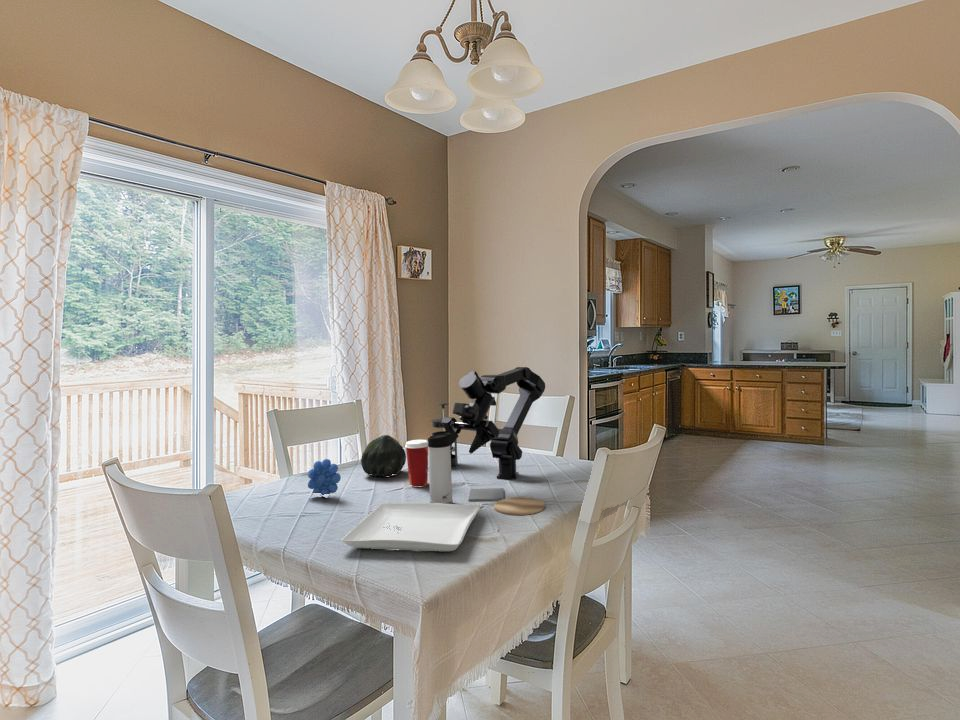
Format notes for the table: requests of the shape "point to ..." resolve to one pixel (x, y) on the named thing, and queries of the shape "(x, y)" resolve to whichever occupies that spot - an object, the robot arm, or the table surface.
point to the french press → (437, 424)
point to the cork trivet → (519, 506)
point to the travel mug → (440, 469)
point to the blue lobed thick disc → (324, 477)
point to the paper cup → (417, 462)
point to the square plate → (413, 527)
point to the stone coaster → (486, 494)
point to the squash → (383, 457)
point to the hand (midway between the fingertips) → (457, 451)
